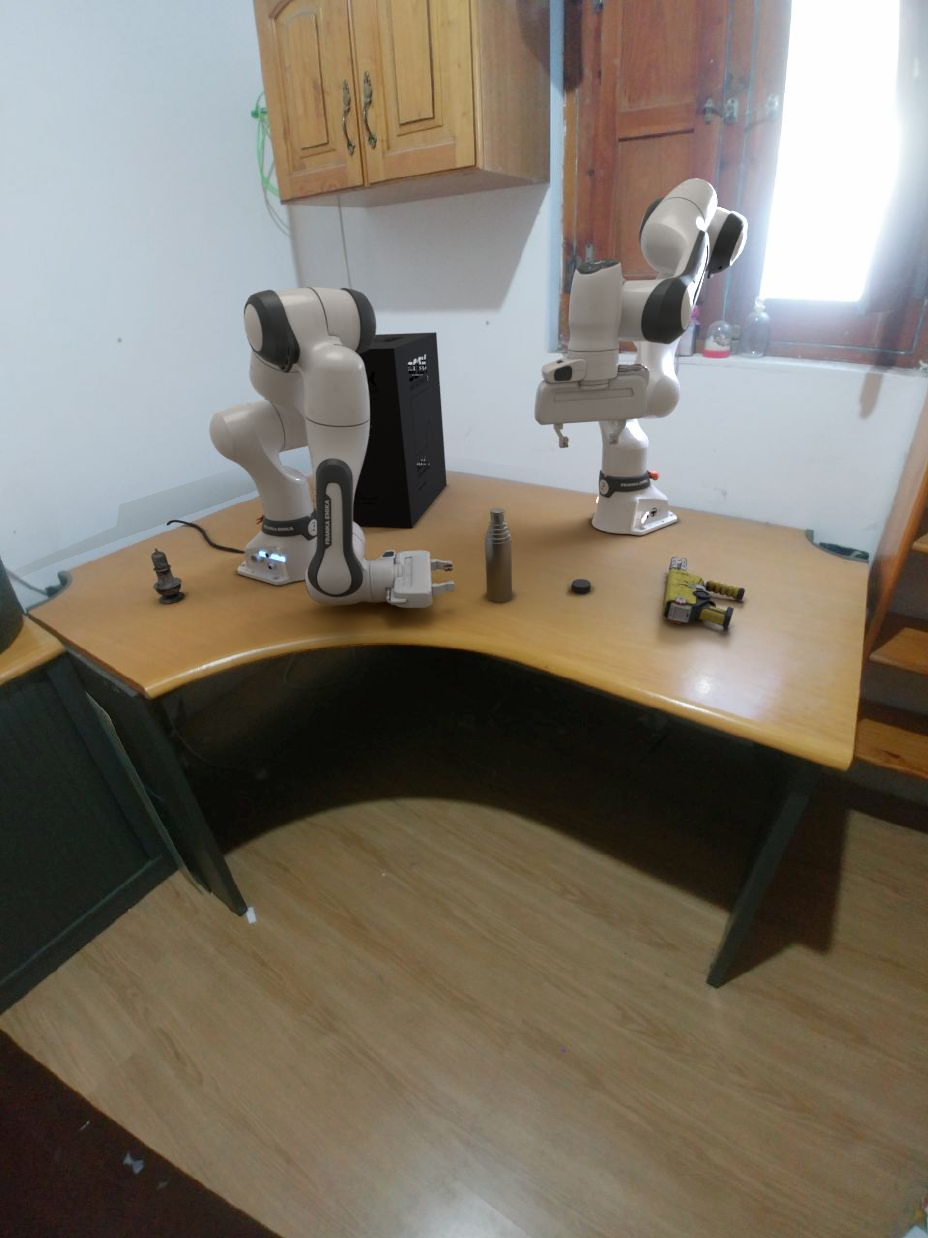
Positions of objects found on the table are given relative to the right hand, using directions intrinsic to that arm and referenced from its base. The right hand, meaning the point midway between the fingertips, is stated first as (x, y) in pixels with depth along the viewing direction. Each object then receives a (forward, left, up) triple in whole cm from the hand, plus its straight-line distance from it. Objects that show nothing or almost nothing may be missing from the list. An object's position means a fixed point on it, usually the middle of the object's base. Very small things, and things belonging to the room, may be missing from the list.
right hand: (588, 445), depth 113 cm
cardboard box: (+15, -74, -30) cm, 82 cm away
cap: (0, 0, -29) cm, 29 cm away
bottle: (+16, -6, -30) cm, 35 cm away
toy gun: (-18, +17, -30) cm, 39 cm away
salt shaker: (+80, -42, -30) cm, 96 cm away
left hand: (+25, -10, -25) cm, 37 cm away
